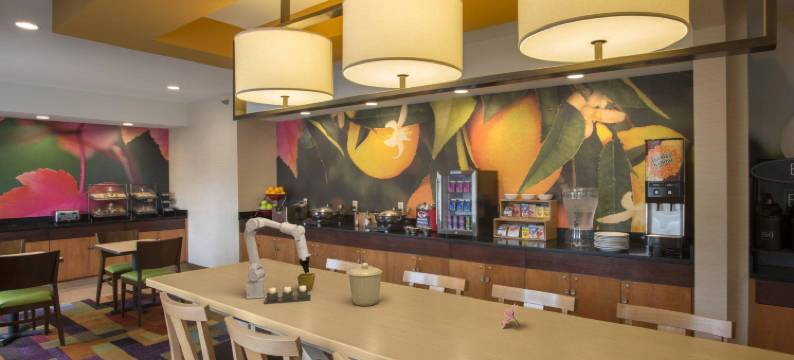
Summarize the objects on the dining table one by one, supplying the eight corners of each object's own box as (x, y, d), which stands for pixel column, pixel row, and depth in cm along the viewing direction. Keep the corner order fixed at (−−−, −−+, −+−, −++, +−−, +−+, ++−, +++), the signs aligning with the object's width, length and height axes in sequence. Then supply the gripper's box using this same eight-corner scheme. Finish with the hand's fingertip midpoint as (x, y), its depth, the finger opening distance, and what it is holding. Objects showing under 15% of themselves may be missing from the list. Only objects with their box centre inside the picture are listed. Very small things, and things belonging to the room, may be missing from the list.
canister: (341, 306, 232) (340, 264, 232) (360, 297, 248) (359, 258, 248) (371, 310, 224) (370, 267, 224) (389, 300, 240) (388, 260, 240)
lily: (508, 322, 204) (497, 304, 204) (531, 315, 198) (520, 297, 198) (501, 338, 194) (490, 319, 194) (526, 332, 188) (515, 313, 187)
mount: (264, 304, 239) (263, 296, 239) (265, 299, 249) (265, 292, 249) (310, 300, 243) (310, 293, 243) (310, 296, 253) (310, 288, 253)
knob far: (299, 293, 245) (299, 287, 245) (299, 291, 249) (299, 285, 249) (306, 293, 246) (306, 286, 246) (306, 291, 250) (306, 285, 250)
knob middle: (284, 294, 244) (284, 288, 244) (284, 293, 247) (284, 286, 247) (291, 294, 245) (290, 287, 245) (291, 292, 248) (291, 286, 248)
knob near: (268, 295, 242) (268, 289, 242) (269, 294, 246) (269, 287, 246) (275, 295, 243) (275, 288, 243) (276, 293, 247) (275, 287, 247)
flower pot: (312, 291, 263) (312, 276, 263) (297, 292, 263) (297, 276, 263) (315, 288, 272) (315, 273, 272) (301, 288, 272) (300, 273, 272)
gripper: (309, 247, 244) (314, 271, 244) (309, 244, 258) (314, 268, 258) (295, 250, 243) (301, 275, 242) (296, 247, 257) (301, 271, 257)
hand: (307, 271), depth 250 cm, fingers open, 7 cm apart
